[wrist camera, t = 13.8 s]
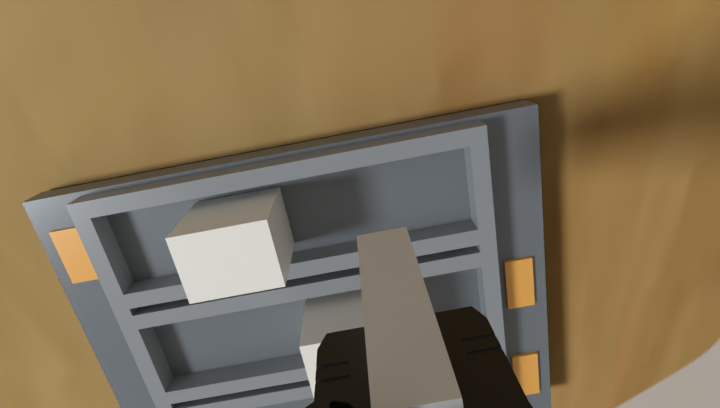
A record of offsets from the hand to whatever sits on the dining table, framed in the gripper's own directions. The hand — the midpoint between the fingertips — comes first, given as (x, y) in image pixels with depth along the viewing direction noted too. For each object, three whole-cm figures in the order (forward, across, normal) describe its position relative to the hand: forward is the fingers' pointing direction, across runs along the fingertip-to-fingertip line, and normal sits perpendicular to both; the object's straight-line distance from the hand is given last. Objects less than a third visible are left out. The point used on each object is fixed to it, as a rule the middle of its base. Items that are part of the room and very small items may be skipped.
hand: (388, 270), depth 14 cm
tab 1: (+8, -6, -1) cm, 10 cm away
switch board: (+9, -4, -7) cm, 12 cm away
